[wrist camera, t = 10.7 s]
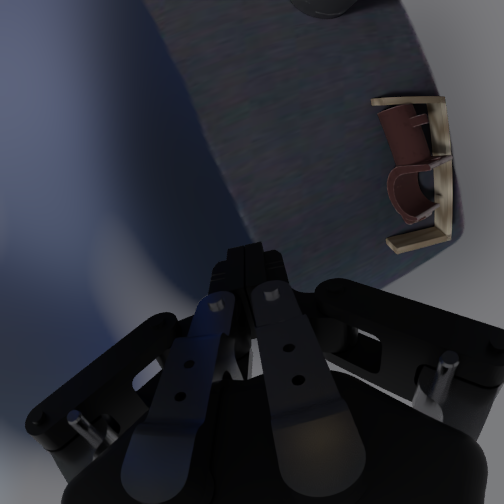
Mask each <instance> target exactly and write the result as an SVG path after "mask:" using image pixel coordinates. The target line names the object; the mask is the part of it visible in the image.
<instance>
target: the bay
mask: <svg viewBox="0 0 504 504" xmlns="http://www.w3.org/2000/svg"><path fill="white" fill-rule="evenodd" d="M409 103H412V104H415V103H426V104H427V110H428V117H429V125H430V133H431V142H432V154H433V156H438V155H451V144H450V133H449V124H448V116H447V109H446V102H445V97H441V96H418V97H389V98H376V99H371V104H372V106H375V105H393V104H409ZM434 191H435V203H439V204H440V207H438V208H437V209H435V226H434V227H431V228H427V229H422V230H418V231H414V232H410V233H406V234H401V235H397V236H393V237H389V238H386V244H387V245H388V246H389V247H390V248H391V249H392V250H393V251H394V252H395V253H396V254H399V253H403V252H407V251H411V250H415V249H419V248H422V247H426V246H430V245H434V244H437V243H441V242H445V241H448V240H451V231H452V202H453V188H452V160H450V161H448V162H446V163H444V164H442V165H440V166H438V167H436V168H434Z"/></svg>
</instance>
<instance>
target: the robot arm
mask: <svg viewBox="0 0 504 504" xmlns="http://www.w3.org/2000/svg"><path fill="white" fill-rule="evenodd" d="M290 1H291V2H292V4H293V5H294V6H295V7H296V8H297V9H299V10H300V11H301V12H303V13H305V14H307V15H309V16H312V17H316V18H321V19H330V18H335V17H338V16H340V15H342V14H343V13H344V12H345V11H347V10H348V9H349V8H350V7H351V6H352V5H353V4H354V3H355V2H356V1H357V0H290ZM358 329H360V330H362V331H365V332H367V333H370V334H372V335H374V336H376V337H377V338H378V339H379V340H380V341H377V340H375V339H372V338H370V337H368V336H365V335H363V334H361V333H358ZM255 338H257V341H258V346H259V352H260V358H261V363H262V369H263V374H262V375H259V376H256V377H254V378H251V377H252V361H253V352H252V349H251V339H255ZM155 359H156V360H157V361H158V363H159V365H160V366H161V368H162V370H161V371H160V372H158V373H157V374H156V375H155V376H154V377H153V378H152V379H150V380H149V381H148V382H147V383H146V384H145V385H144V386H142V387H141V388H140V389H139V390H138V391H135V390H134V389H133V387H132V381H133V379H134V377H135V376H136V375H137V374H138V373H139V372H140V371H142V370H143V369H144V368H145V367H146V366H148V365H149V364H150V363H151V362H152V361H153V360H155ZM325 359H326V360H328V361H329V362H331V363H333V364H335V365H337V366H339V367H341V368H343V369H345V370H347V371H349V372H351V373H353V374H355V375H357V376H359V377H361V378H363V379H365V380H367V381H369V382H371V383H373V384H375V385H377V386H379V387H381V388H383V389H385V390H387V391H390V392H392V393H394V394H396V395H398V396H400V397H402V398H404V399H407V400H409V401H411V402H412V405H413V408H412V407H410V406H408V405H406V404H404V403H402V402H400V401H398V400H396V399H395V398H392V397H390V396H389V395H387V394H385V393H383V392H381V391H379V390H377V389H376V388H374V387H372V386H370V385H368V384H366V383H364V382H363V381H361V380H359V379H357V378H355V377H353V376H350V375H348V374H346V373H342V372H338V371H332V370H330V369H329V367H328V365H327V362H326V360H325ZM503 384H504V329H501V328H498V327H495V326H492V325H488V324H486V323H482V322H479V321H476V320H473V319H470V318H467V317H464V316H460V315H458V314H454V313H451V312H448V311H445V310H442V309H439V308H435V307H433V306H429V305H426V304H423V303H420V302H417V301H414V300H410V299H407V298H404V297H401V296H398V295H395V294H392V293H388V292H385V291H382V290H379V289H376V288H373V287H370V286H367V285H364V284H360V283H357V282H354V281H351V280H348V279H343V278H334V279H329V280H326V281H324V282H322V283H320V284H319V285H318V286H317V287H316V289H315V293H303V292H298V291H296V290H294V289H292V288H291V286H290V284H289V281H288V277H287V274H286V270H285V266H284V262H283V258H282V255H281V253H279V252H278V251H276V250H271V251H266V252H264V251H263V246H262V243H261V242H257V243H252V244H248V245H245V246H239V247H235V248H230V249H228V251H227V260H226V261H221V262H218V263H217V264H216V265H215V267H214V268H213V270H212V277H211V282H210V287H209V292H208V295H207V296H205V297H204V298H203V299H201V300H200V301H199V303H198V305H197V307H196V310H195V313H194V315H192V316H190V317H187V318H185V319H182V320H180V321H178V320H177V318H176V316H175V315H174V314H173V313H170V312H163V313H159V314H156V315H154V316H152V317H150V318H148V319H147V320H146V321H144V322H143V323H142V324H141V325H139V326H138V327H137V328H135V329H134V330H133V331H132V332H130V333H129V334H128V335H126V336H125V337H124V338H123V339H121V340H120V341H119V342H118V343H116V344H115V345H114V346H112V347H111V348H110V349H108V350H107V351H106V352H105V353H104V354H102V355H101V356H99V357H98V358H97V359H95V360H94V361H93V362H92V363H90V364H89V365H88V366H87V367H85V368H84V369H83V370H81V371H80V372H79V373H78V374H76V375H75V376H74V377H73V378H71V379H70V380H69V381H67V382H66V383H65V384H64V385H62V386H61V387H60V388H59V389H57V390H56V391H55V392H53V394H51V395H50V396H48V397H47V398H46V399H45V400H43V401H42V402H41V403H40V404H38V405H37V406H36V407H35V408H34V409H32V411H31V412H30V413H29V415H28V416H27V419H26V422H25V428H26V430H27V432H28V433H29V434H30V435H31V436H32V437H33V438H34V439H35V440H36V441H37V442H39V443H40V444H41V445H42V446H43V448H44V449H45V450H46V451H48V452H49V453H50V454H51V455H52V457H53V458H54V460H55V462H56V464H57V466H58V468H59V469H60V471H61V473H62V474H63V476H64V478H65V479H66V481H67V483H68V485H67V487H66V489H65V490H64V493H63V496H62V500H61V504H484V497H485V489H486V484H487V476H488V467H487V461H486V457H485V455H484V452H483V450H482V449H481V447H480V446H479V444H478V443H477V442H476V441H477V439H478V437H479V435H480V433H481V430H482V428H483V426H484V424H485V421H486V419H487V416H488V414H489V412H490V409H491V406H492V404H493V401H494V399H495V398H496V396H497V395H498V393H499V391H500V389H501V388H502V386H503Z"/></svg>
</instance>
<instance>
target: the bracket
mask: <svg viewBox="0 0 504 504" xmlns="http://www.w3.org/2000/svg"><path fill="white" fill-rule="evenodd" d="M377 115H378V117H379V120H380V122H381V125H382V127H383V130H384V132H385V135H386V138H387V140H388V143H389V146H390V149H391V152H392V155H393V157H394V160H395V163H396V168H394V169H393V170H392V171H391V172H390V174H389V176H388V180H387V190H388V195H389V198H390V200H391V203H392V204H393V206H394V208H395V209H396V210H397V212H398V213H399V214H400V215H402V218H403V220H404V221H405V222H406V223H407V224H413V223H415V222H418V221H421V220H423V219H425V218H427V217H429V216H430V215H431V214H432V211H433V210H435V209H437V208H438V207H440V204H439V203H434V202H431V201H430V200H428V199H427V198H426V197H425V196H424V195H423V193H422V192H421V190H420V188H419V185H418V179H417V176H418V172H421V171H428V170H431V169H433V168H436V167H438V166H440V165H442V164H444V163H446V162H448V161H450V160H452V159H453V157H452V155H438V156H431V154H430V151H429V148H428V145H427V142H426V139H425V136H424V133H423V130H422V127H421V125H423V124H426V123H429V120H428V118H427V115H426V114H422V115H418V116H417V114H416V111H415V109H414V106H413V104H412V103H409V104H404V105H400V106H396V107H393V108H390V109H387V110H384V111H382V112H380V113H378V114H377Z"/></svg>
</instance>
